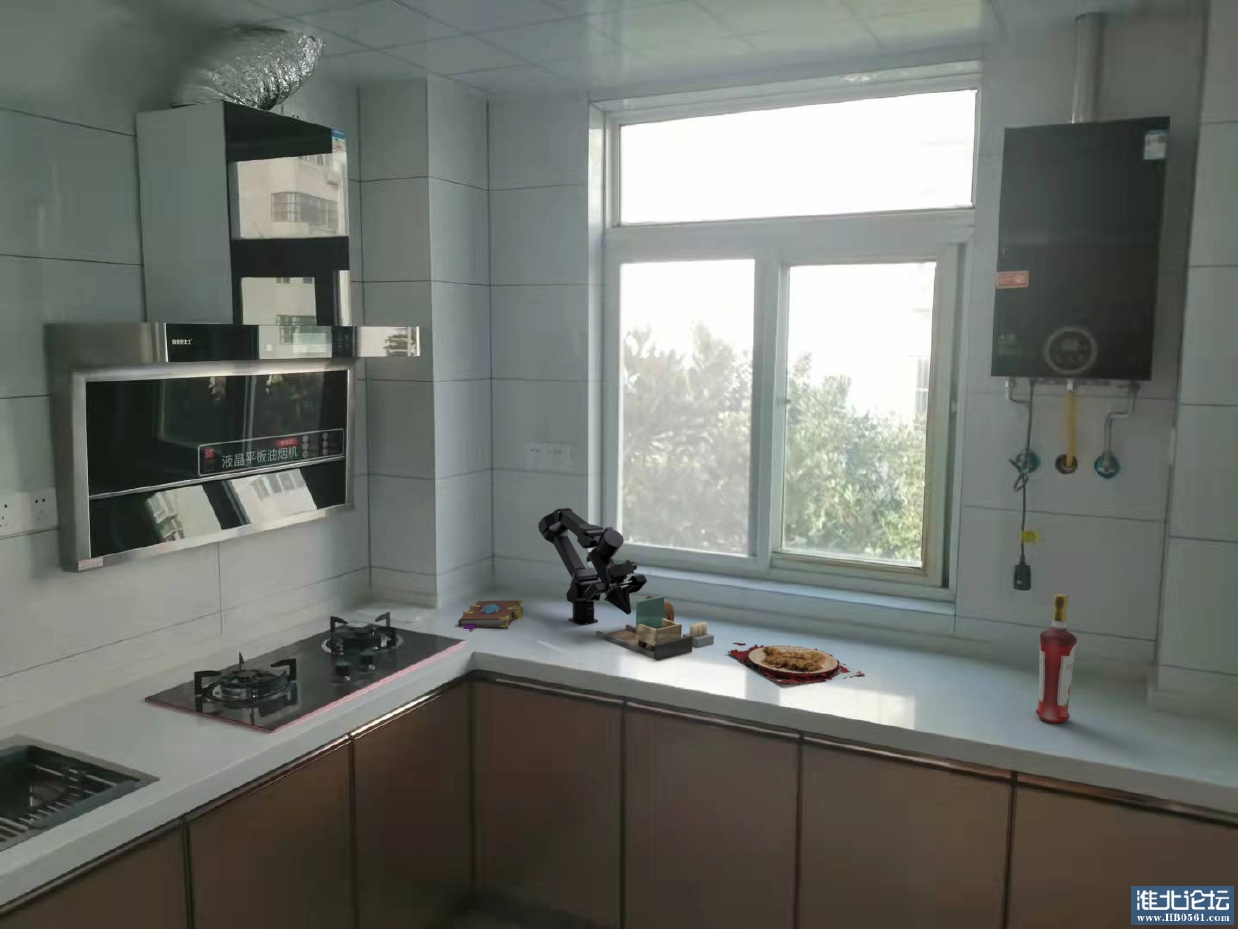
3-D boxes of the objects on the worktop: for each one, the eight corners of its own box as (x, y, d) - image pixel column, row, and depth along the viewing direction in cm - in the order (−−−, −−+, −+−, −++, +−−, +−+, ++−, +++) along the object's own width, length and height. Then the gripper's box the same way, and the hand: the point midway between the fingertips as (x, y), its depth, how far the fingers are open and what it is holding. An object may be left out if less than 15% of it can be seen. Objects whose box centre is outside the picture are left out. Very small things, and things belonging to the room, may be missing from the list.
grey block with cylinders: (682, 645, 258) (682, 623, 258) (698, 641, 262) (698, 619, 261) (697, 650, 254) (698, 628, 253) (713, 646, 258) (714, 624, 257)
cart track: (595, 638, 263) (595, 621, 262) (628, 631, 270) (628, 614, 270) (658, 663, 243) (658, 645, 242) (692, 654, 250) (692, 636, 250)
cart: (635, 647, 252) (636, 601, 250) (660, 641, 257) (661, 596, 256) (655, 655, 246) (656, 608, 244) (681, 648, 251) (682, 602, 250)
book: (453, 635, 268) (452, 618, 267) (476, 612, 292) (476, 596, 292) (509, 635, 266) (508, 617, 265) (528, 611, 290) (528, 595, 290)
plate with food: (781, 691, 227) (782, 677, 226) (726, 655, 251) (727, 642, 250) (865, 680, 236) (867, 666, 236) (805, 646, 260) (806, 634, 260)
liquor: (1039, 710, 215) (1048, 589, 211) (1074, 719, 210) (1083, 595, 207) (1029, 720, 209) (1038, 596, 206) (1065, 728, 204) (1074, 602, 201)
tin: (642, 620, 281) (642, 592, 280) (651, 619, 283) (652, 591, 282) (665, 634, 268) (666, 605, 267) (675, 633, 269) (676, 604, 268)
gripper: (591, 554, 256) (616, 603, 249) (643, 546, 268) (669, 592, 261) (573, 577, 263) (597, 625, 256) (625, 567, 275) (649, 613, 268)
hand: (629, 613), depth 260 cm, fingers closed
